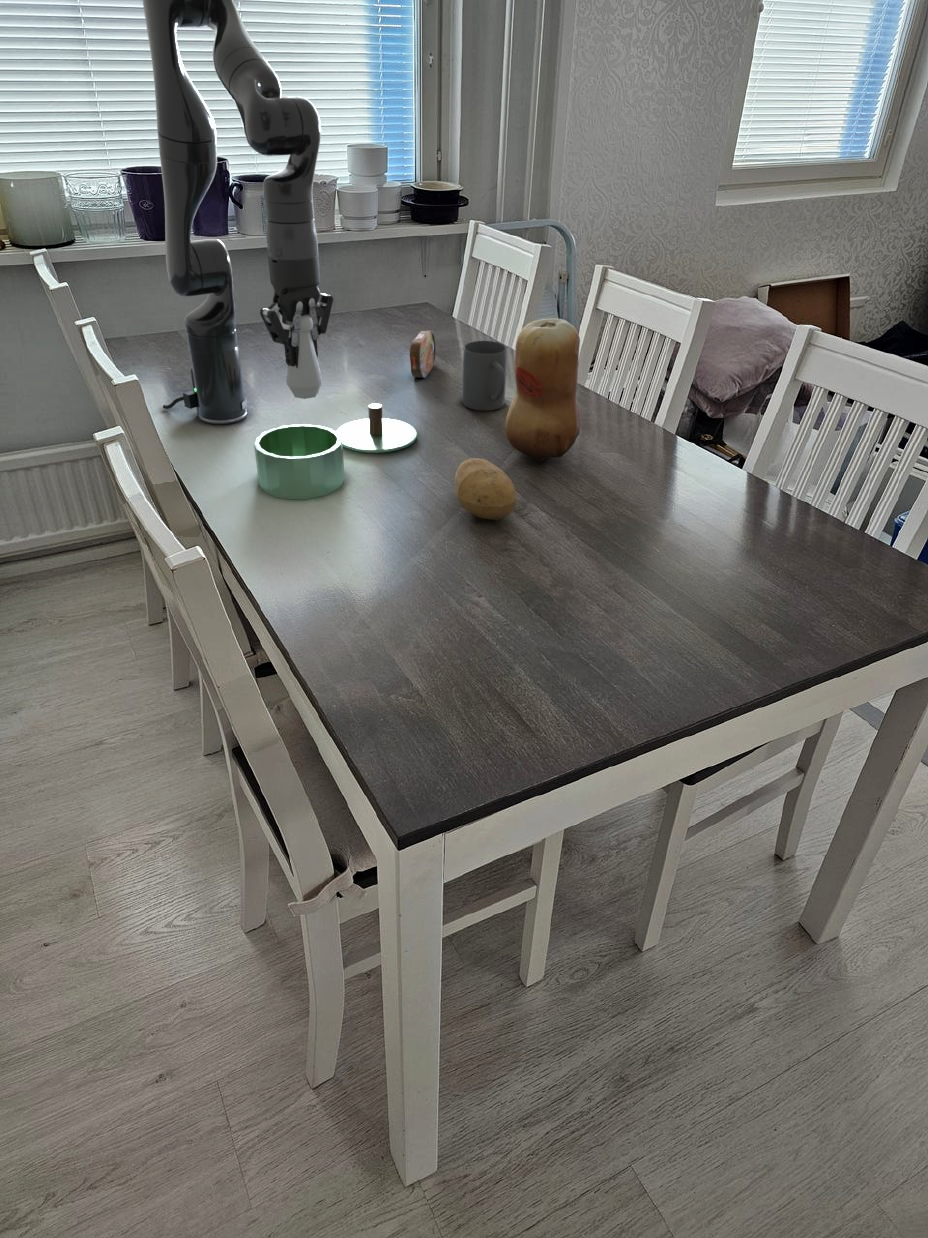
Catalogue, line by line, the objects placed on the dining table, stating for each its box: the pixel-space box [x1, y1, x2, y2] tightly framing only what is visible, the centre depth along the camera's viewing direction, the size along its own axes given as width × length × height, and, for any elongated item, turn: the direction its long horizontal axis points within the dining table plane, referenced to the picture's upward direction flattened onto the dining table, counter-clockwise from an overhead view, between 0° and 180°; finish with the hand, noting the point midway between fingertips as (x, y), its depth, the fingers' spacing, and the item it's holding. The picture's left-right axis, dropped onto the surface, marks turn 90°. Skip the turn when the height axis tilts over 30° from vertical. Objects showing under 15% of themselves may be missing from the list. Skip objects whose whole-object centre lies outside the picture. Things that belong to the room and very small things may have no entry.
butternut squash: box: [504, 317, 581, 462], centre depth 153 cm, size 14×13×25 cm
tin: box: [409, 330, 436, 379], centre depth 196 cm, size 15×3×8 cm, turn 168°
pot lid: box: [335, 403, 418, 454], centre depth 164 cm, size 16×16×7 cm
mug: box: [461, 340, 508, 412], centre depth 178 cm, size 14×9×12 cm
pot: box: [253, 423, 345, 500], centre depth 148 cm, size 15×15×7 cm
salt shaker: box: [285, 315, 323, 400], centre depth 138 cm, size 6×6×13 cm
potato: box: [454, 457, 517, 521], centre depth 139 cm, size 10×14×8 cm
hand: (302, 364), depth 139 cm, fingers closed on salt shaker, 3 cm apart
